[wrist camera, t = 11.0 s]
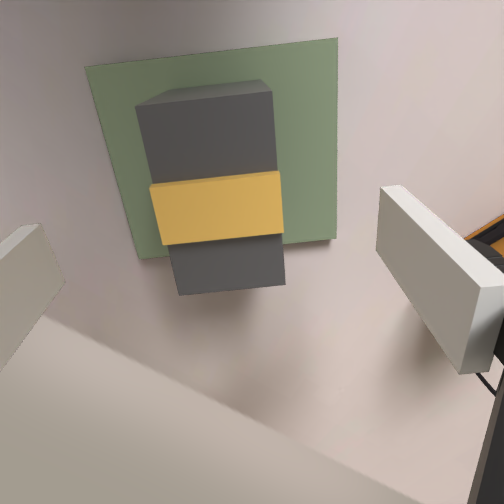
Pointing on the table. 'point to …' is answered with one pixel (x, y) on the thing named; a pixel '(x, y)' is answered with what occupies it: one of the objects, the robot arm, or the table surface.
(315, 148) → the board
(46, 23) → the table surface
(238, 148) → the block
